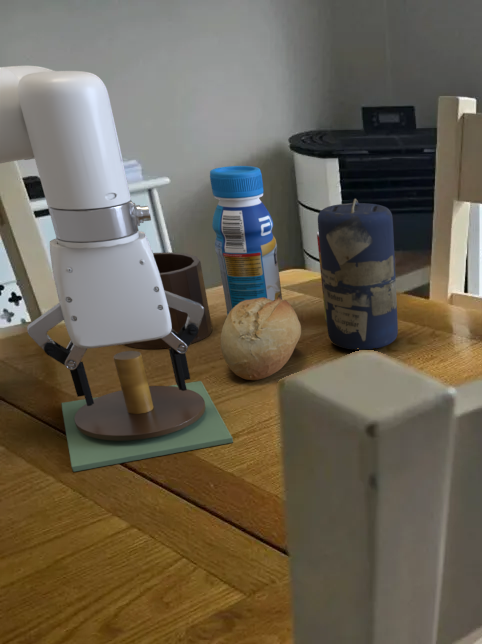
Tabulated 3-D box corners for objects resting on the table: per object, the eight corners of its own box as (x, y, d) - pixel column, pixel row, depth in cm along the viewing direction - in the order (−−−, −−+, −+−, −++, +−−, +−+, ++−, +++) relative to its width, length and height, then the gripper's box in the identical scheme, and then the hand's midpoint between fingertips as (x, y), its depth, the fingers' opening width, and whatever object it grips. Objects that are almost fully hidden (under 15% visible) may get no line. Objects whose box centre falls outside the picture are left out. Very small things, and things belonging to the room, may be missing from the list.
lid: (82, 455, 84) (61, 387, 80) (73, 407, 94) (54, 345, 90) (217, 431, 88) (205, 365, 84) (194, 388, 98) (182, 327, 94)
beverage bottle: (217, 320, 121) (190, 169, 110) (267, 309, 126) (247, 162, 114) (246, 334, 116) (221, 176, 104) (297, 321, 121) (279, 169, 109)
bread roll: (311, 343, 113) (304, 283, 108) (295, 384, 101) (286, 318, 96) (241, 344, 113) (231, 284, 108) (216, 385, 101) (204, 319, 96)
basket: (125, 354, 110) (107, 280, 104) (115, 327, 119) (98, 258, 114) (219, 340, 114) (207, 269, 109) (203, 315, 124) (190, 248, 118)
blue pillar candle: (318, 352, 110) (302, 205, 99) (342, 330, 117) (330, 190, 107) (387, 357, 108) (378, 207, 97) (407, 334, 115) (401, 193, 105)
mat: (73, 472, 82) (71, 466, 82) (62, 407, 96) (61, 402, 95) (233, 442, 87) (232, 437, 87) (202, 385, 101) (201, 380, 100)
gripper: (180, 208, 85) (210, 370, 95) (-3, 224, 79) (49, 395, 89) (193, 222, 79) (223, 392, 89) (-3, 241, 74) (52, 420, 84)
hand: (136, 393), depth 89 cm, fingers open, 9 cm apart
